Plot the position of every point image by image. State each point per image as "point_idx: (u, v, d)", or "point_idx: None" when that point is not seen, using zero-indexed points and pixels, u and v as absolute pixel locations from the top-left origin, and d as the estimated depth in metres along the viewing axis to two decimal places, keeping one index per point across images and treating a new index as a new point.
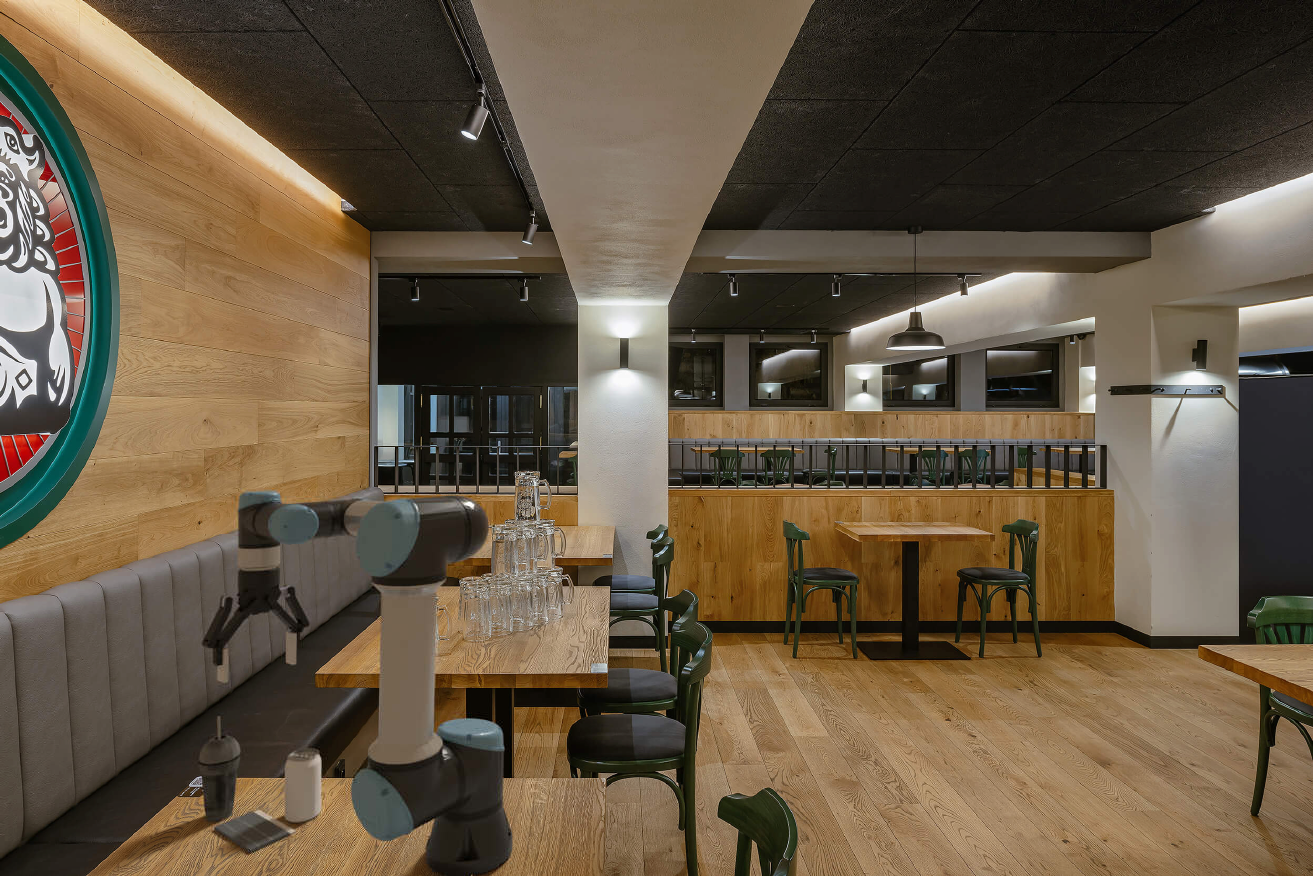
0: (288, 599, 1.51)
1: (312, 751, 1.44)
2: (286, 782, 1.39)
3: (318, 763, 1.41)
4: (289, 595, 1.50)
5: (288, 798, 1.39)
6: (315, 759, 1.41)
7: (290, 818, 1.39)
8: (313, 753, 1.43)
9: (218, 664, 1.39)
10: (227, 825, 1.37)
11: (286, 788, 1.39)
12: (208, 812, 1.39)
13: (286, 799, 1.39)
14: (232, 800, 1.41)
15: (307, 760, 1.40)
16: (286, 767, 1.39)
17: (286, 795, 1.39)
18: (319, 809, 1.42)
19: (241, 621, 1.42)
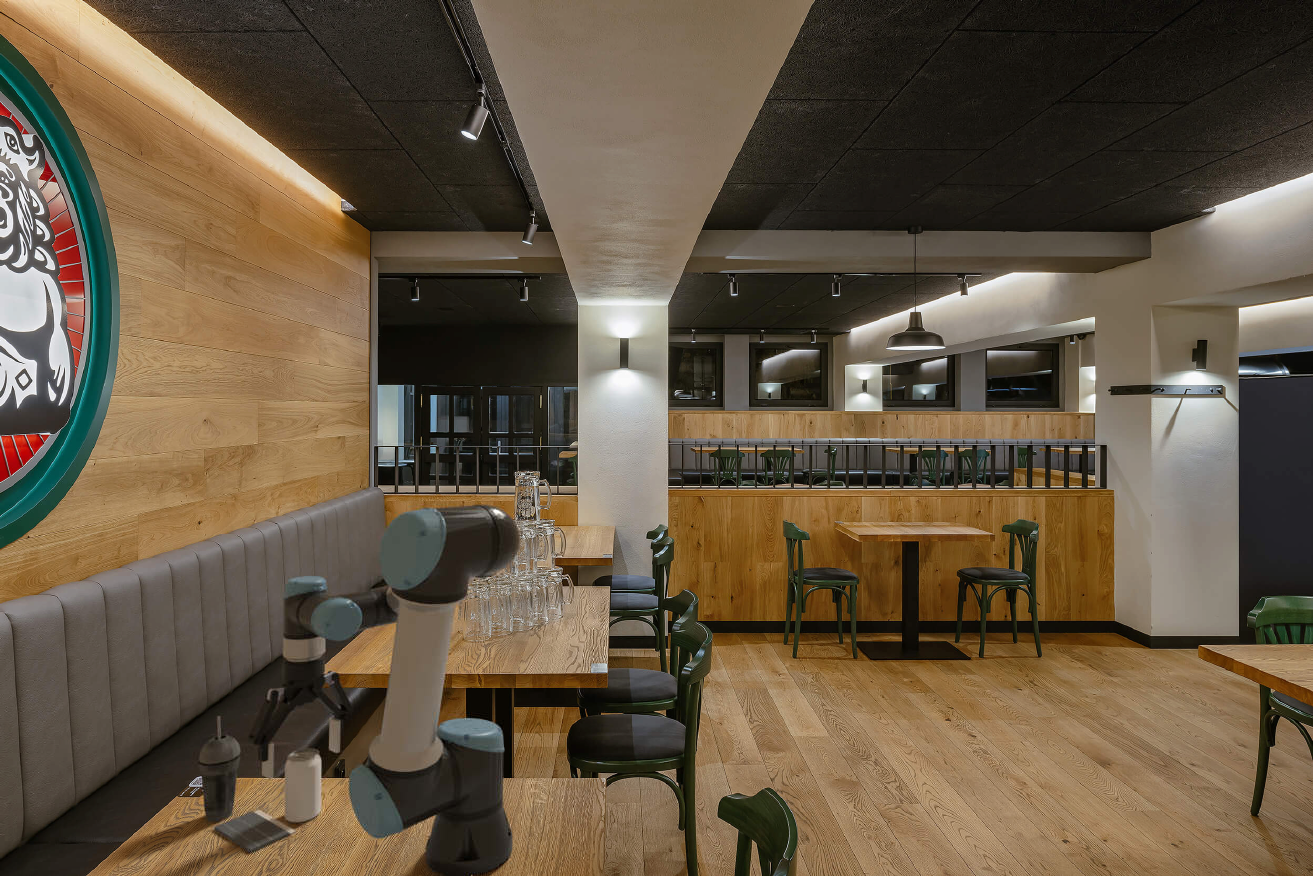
0: (332, 686, 1.47)
1: (312, 751, 1.44)
2: (286, 782, 1.39)
3: (318, 763, 1.41)
4: (333, 682, 1.46)
5: (288, 798, 1.39)
6: (315, 759, 1.41)
7: (290, 818, 1.39)
8: (313, 753, 1.43)
9: (263, 760, 1.35)
10: (227, 825, 1.37)
11: (286, 788, 1.39)
12: (208, 812, 1.39)
13: (286, 799, 1.39)
14: (232, 800, 1.41)
15: (307, 760, 1.40)
16: (286, 767, 1.39)
17: (286, 795, 1.39)
18: (319, 809, 1.42)
19: (286, 714, 1.38)
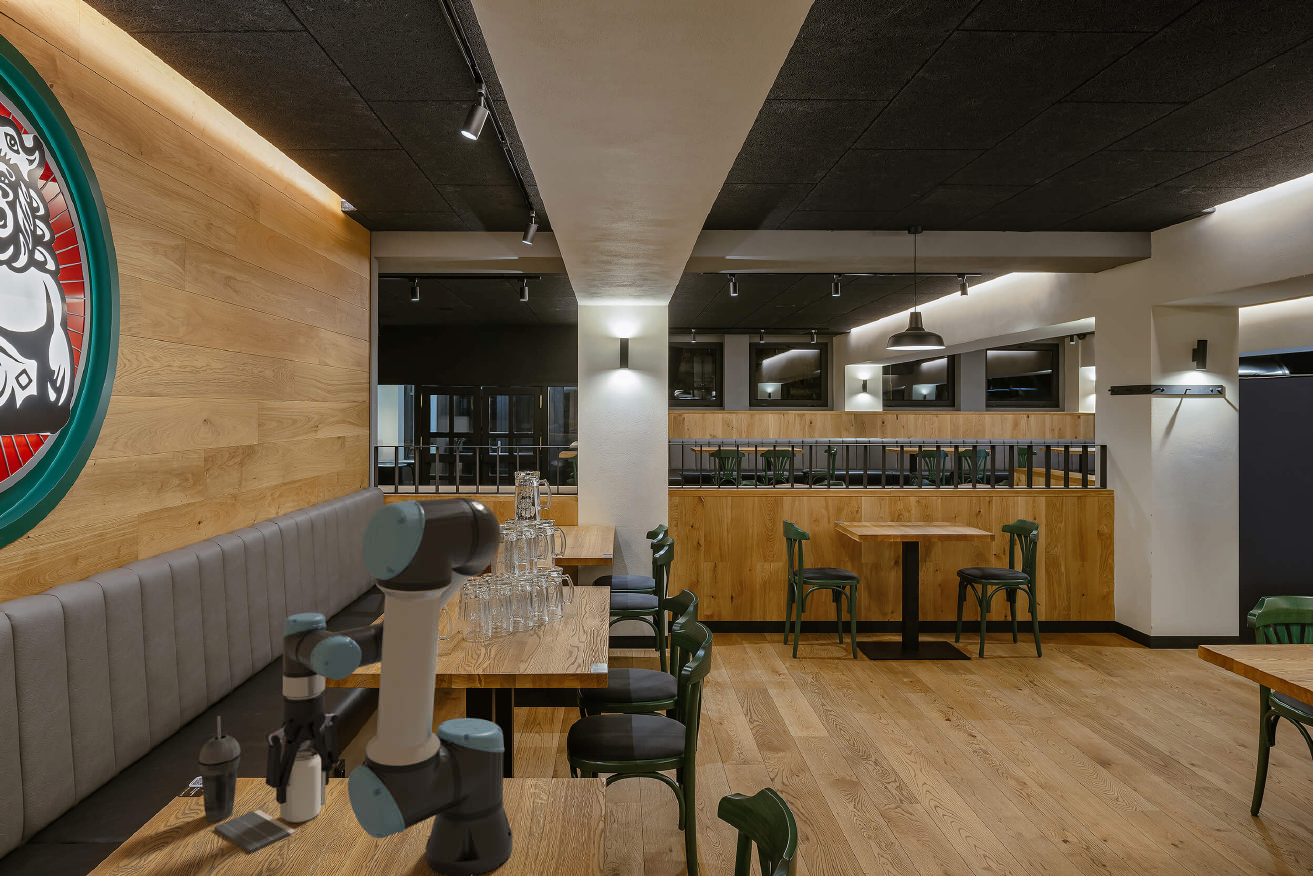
0: (328, 728, 1.46)
1: (312, 751, 1.44)
2: None
3: (317, 763, 1.41)
4: (331, 724, 1.45)
5: None
6: (315, 759, 1.41)
7: None
8: (313, 753, 1.43)
9: (282, 802, 1.38)
10: (227, 825, 1.37)
11: None
12: (208, 812, 1.39)
13: None
14: (232, 800, 1.41)
15: (307, 760, 1.40)
16: None
17: None
18: (319, 809, 1.42)
19: (295, 753, 1.39)
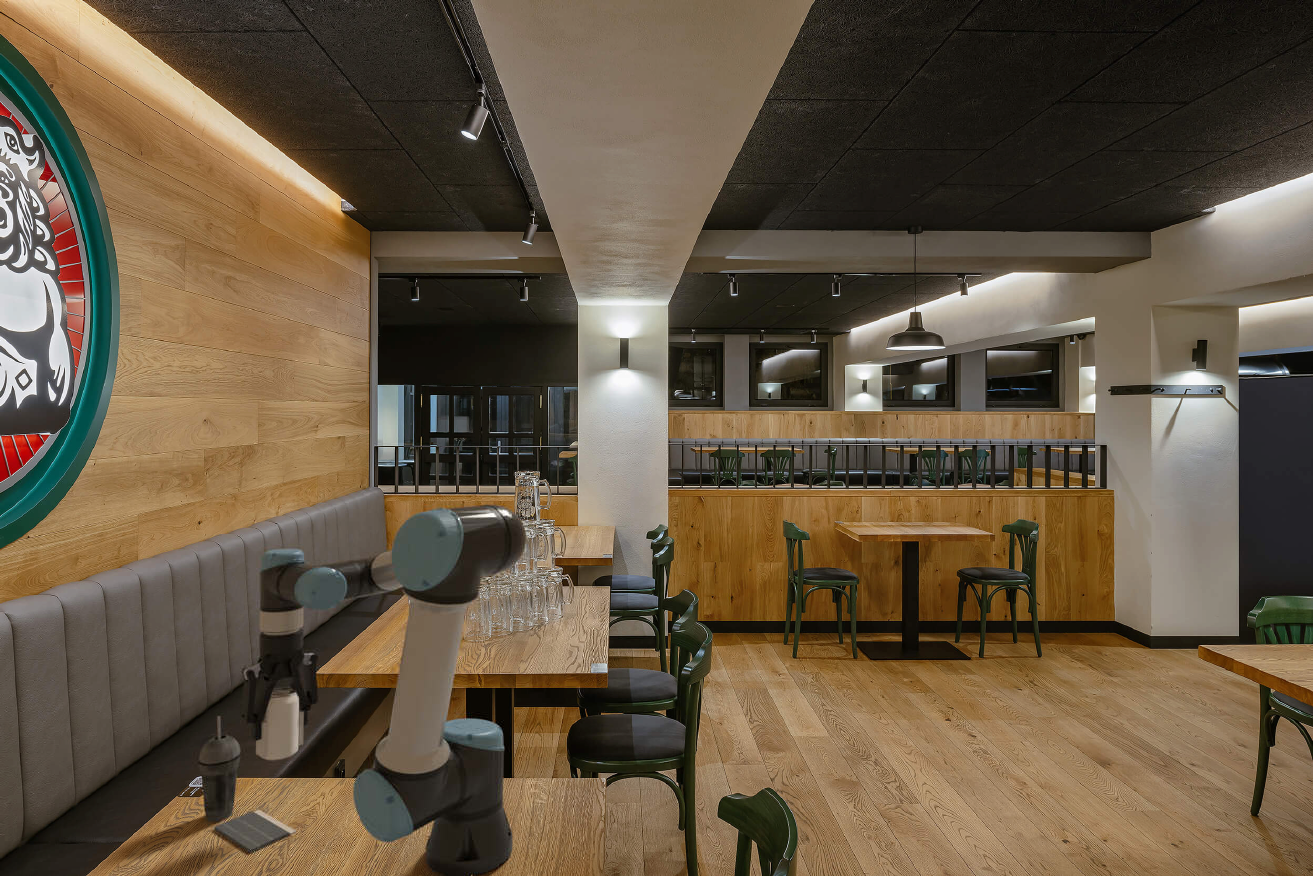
0: (307, 667, 1.43)
1: (290, 690, 1.41)
2: None
3: (295, 701, 1.38)
4: (310, 663, 1.42)
5: None
6: (292, 697, 1.38)
7: None
8: (291, 692, 1.40)
9: (257, 739, 1.35)
10: (227, 825, 1.37)
11: None
12: (208, 812, 1.39)
13: None
14: (232, 800, 1.41)
15: (283, 697, 1.37)
16: None
17: None
18: (296, 748, 1.39)
19: (271, 690, 1.36)
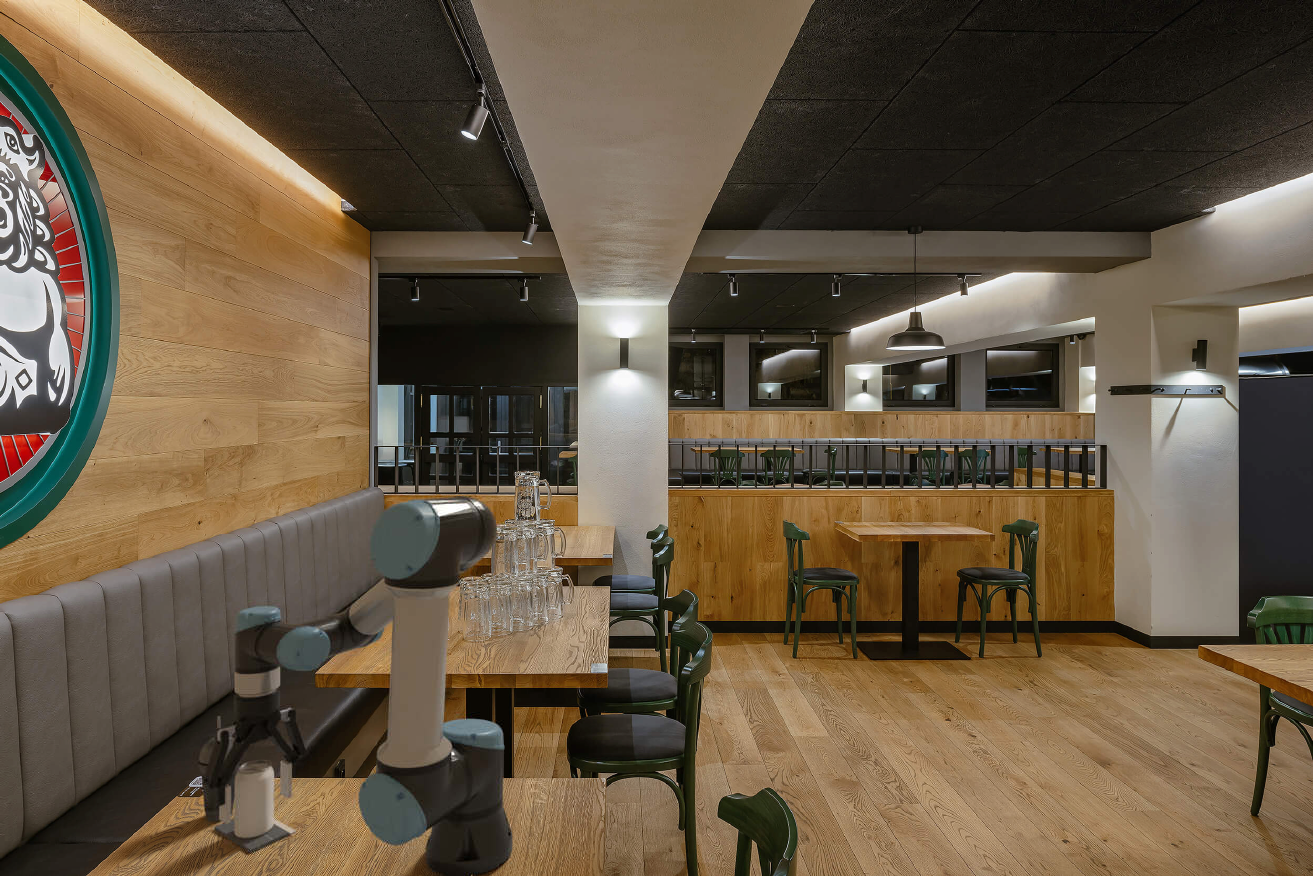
0: (287, 723, 1.40)
1: (265, 763, 1.37)
2: (236, 796, 1.33)
3: (270, 775, 1.35)
4: (289, 719, 1.39)
5: (237, 813, 1.32)
6: (267, 771, 1.34)
7: (239, 834, 1.32)
8: (265, 765, 1.36)
9: (220, 804, 1.29)
10: (227, 825, 1.37)
11: (235, 802, 1.33)
12: (208, 812, 1.39)
13: (236, 814, 1.32)
14: (232, 800, 1.41)
15: (258, 773, 1.33)
16: (236, 780, 1.33)
17: (236, 809, 1.32)
18: (271, 824, 1.35)
19: (241, 753, 1.32)
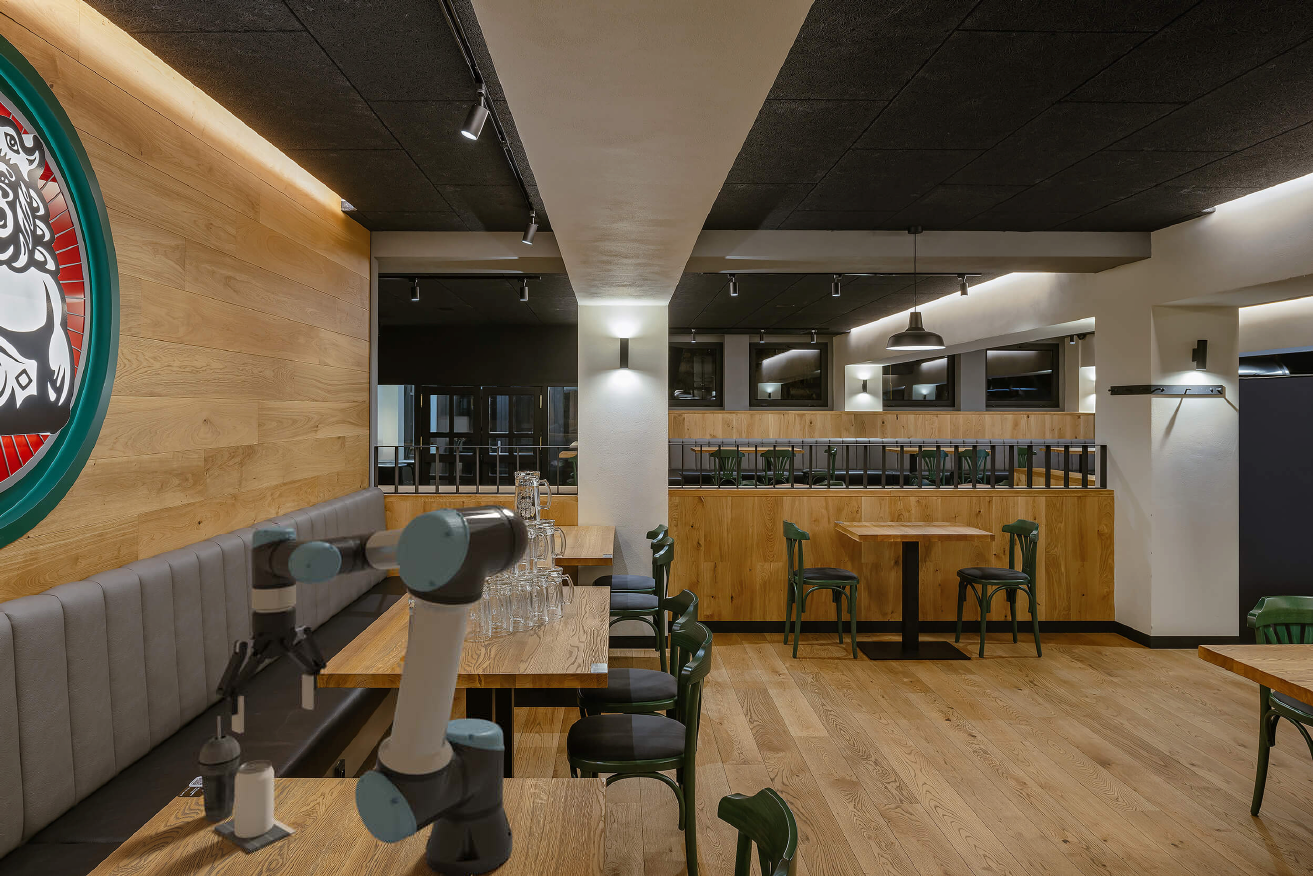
0: (304, 640, 1.43)
1: (265, 763, 1.37)
2: (236, 796, 1.33)
3: (270, 775, 1.35)
4: (305, 636, 1.42)
5: (237, 813, 1.32)
6: (267, 771, 1.34)
7: (239, 834, 1.32)
8: (265, 765, 1.36)
9: (233, 713, 1.30)
10: (227, 825, 1.37)
11: (235, 802, 1.33)
12: (208, 812, 1.39)
13: (236, 814, 1.32)
14: (232, 800, 1.41)
15: (258, 773, 1.33)
16: (236, 780, 1.33)
17: (236, 809, 1.32)
18: (271, 824, 1.35)
19: (256, 666, 1.34)
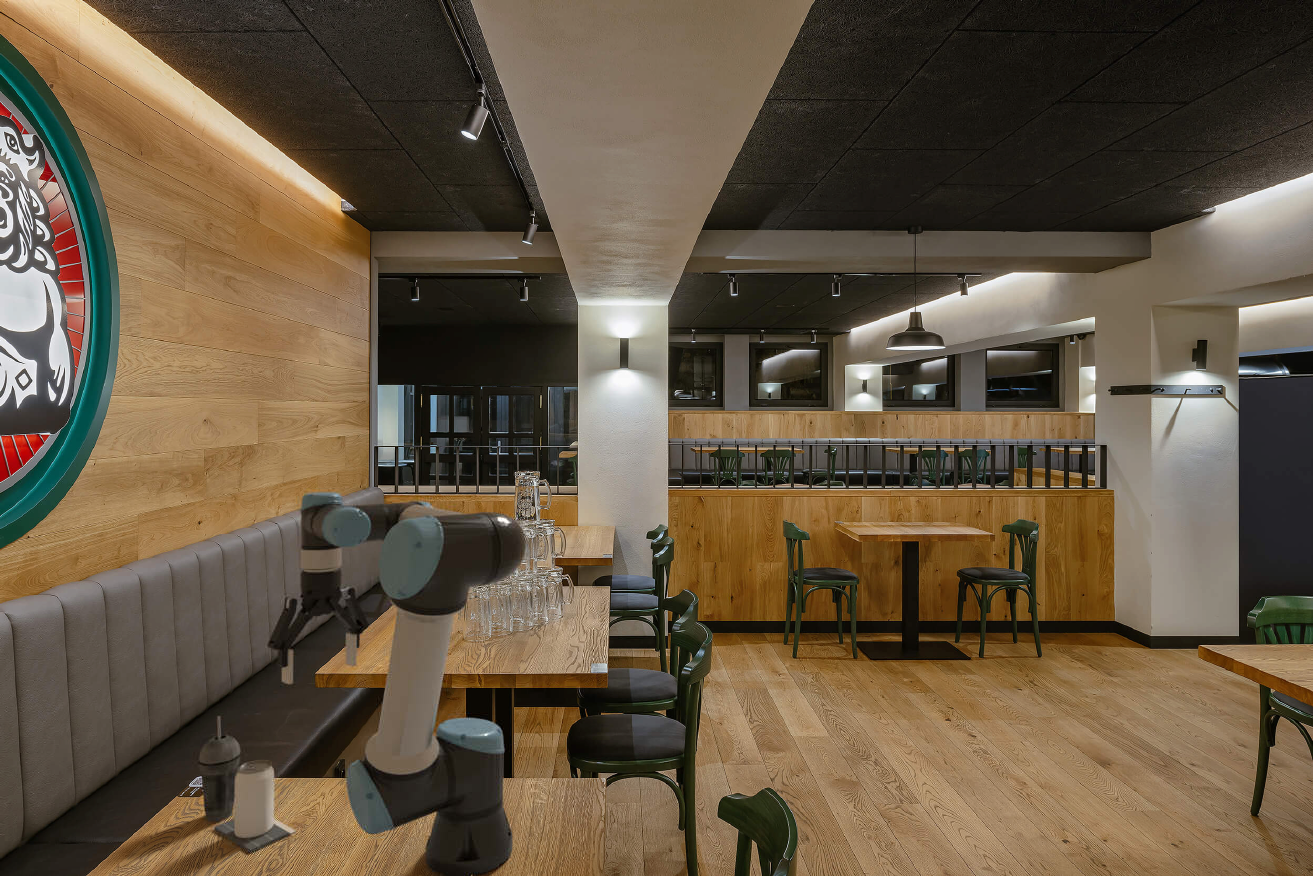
0: (348, 600, 1.51)
1: (265, 763, 1.37)
2: (236, 796, 1.33)
3: (270, 775, 1.35)
4: (350, 596, 1.50)
5: (237, 813, 1.32)
6: (267, 771, 1.34)
7: (239, 834, 1.32)
8: (265, 765, 1.36)
9: (283, 666, 1.39)
10: (227, 825, 1.37)
11: (235, 802, 1.33)
12: (208, 812, 1.39)
13: (236, 814, 1.32)
14: (232, 800, 1.41)
15: (258, 773, 1.33)
16: (236, 780, 1.33)
17: (236, 809, 1.32)
18: (271, 824, 1.35)
19: (305, 622, 1.42)
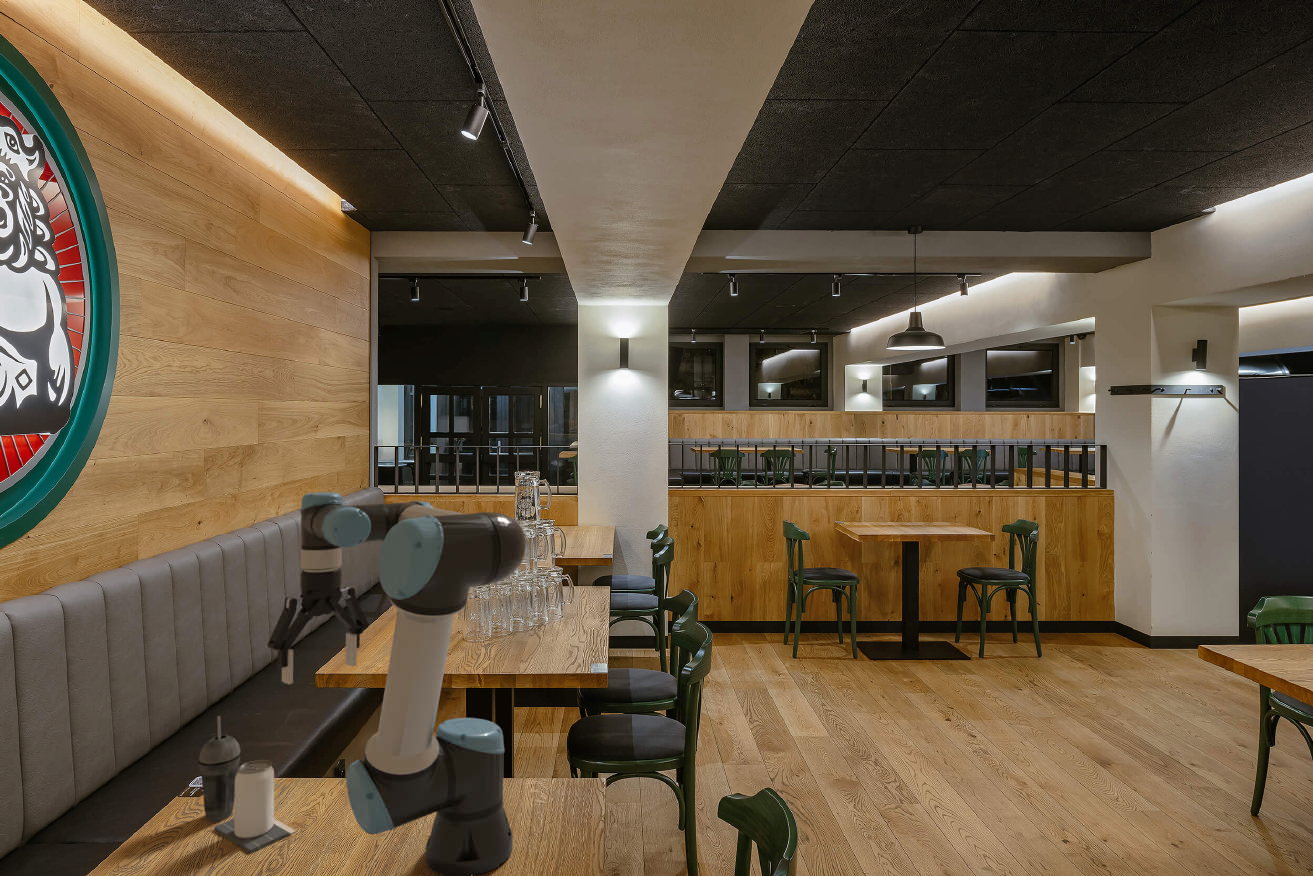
0: (348, 600, 1.51)
1: (265, 763, 1.37)
2: (236, 796, 1.33)
3: (270, 775, 1.35)
4: (350, 596, 1.50)
5: (237, 813, 1.32)
6: (267, 771, 1.34)
7: (239, 834, 1.32)
8: (265, 765, 1.36)
9: (283, 665, 1.39)
10: (227, 825, 1.37)
11: (235, 802, 1.33)
12: (208, 812, 1.39)
13: (236, 814, 1.32)
14: (232, 800, 1.41)
15: (258, 773, 1.33)
16: (236, 780, 1.33)
17: (236, 809, 1.32)
18: (271, 824, 1.35)
19: (305, 622, 1.42)
